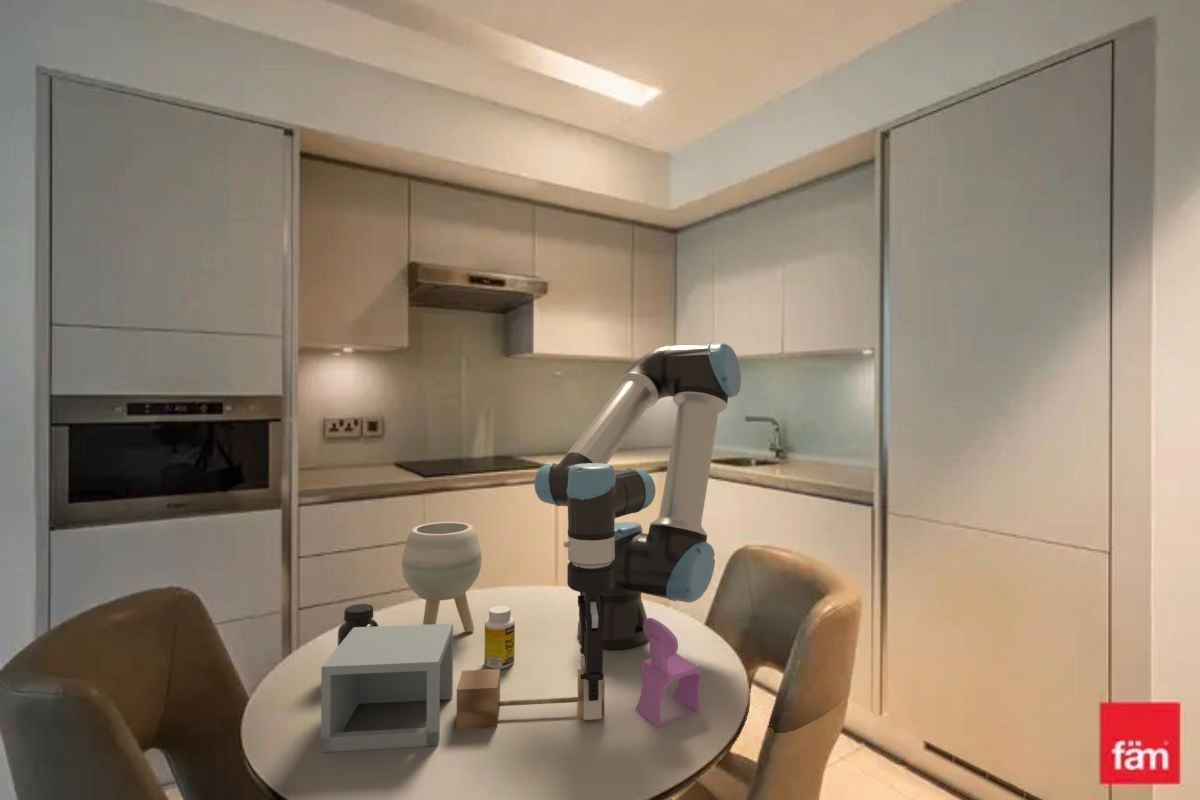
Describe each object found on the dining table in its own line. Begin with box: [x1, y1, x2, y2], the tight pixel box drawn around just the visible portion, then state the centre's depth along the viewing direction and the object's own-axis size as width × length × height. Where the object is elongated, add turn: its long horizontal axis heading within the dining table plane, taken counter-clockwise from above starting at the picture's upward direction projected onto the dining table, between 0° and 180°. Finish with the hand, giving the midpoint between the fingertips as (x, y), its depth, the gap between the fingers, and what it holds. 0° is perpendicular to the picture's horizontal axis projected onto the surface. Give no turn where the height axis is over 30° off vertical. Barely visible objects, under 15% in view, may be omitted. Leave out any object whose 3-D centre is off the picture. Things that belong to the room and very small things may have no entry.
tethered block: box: [456, 668, 606, 730], centre depth 90 cm, size 22×6×6 cm, turn 96°
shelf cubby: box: [320, 623, 454, 753], centre depth 88 cm, size 16×14×12 cm
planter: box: [401, 521, 482, 633], centre depth 121 cm, size 16×16×22 cm
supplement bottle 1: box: [336, 603, 379, 648], centre depth 103 cm, size 7×7×12 cm
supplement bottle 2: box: [484, 605, 516, 670], centre depth 108 cm, size 6×6×10 cm
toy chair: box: [634, 617, 702, 729], centre depth 92 cm, size 8×9×15 cm
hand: (590, 706), depth 91 cm, fingers open, 6 cm apart
